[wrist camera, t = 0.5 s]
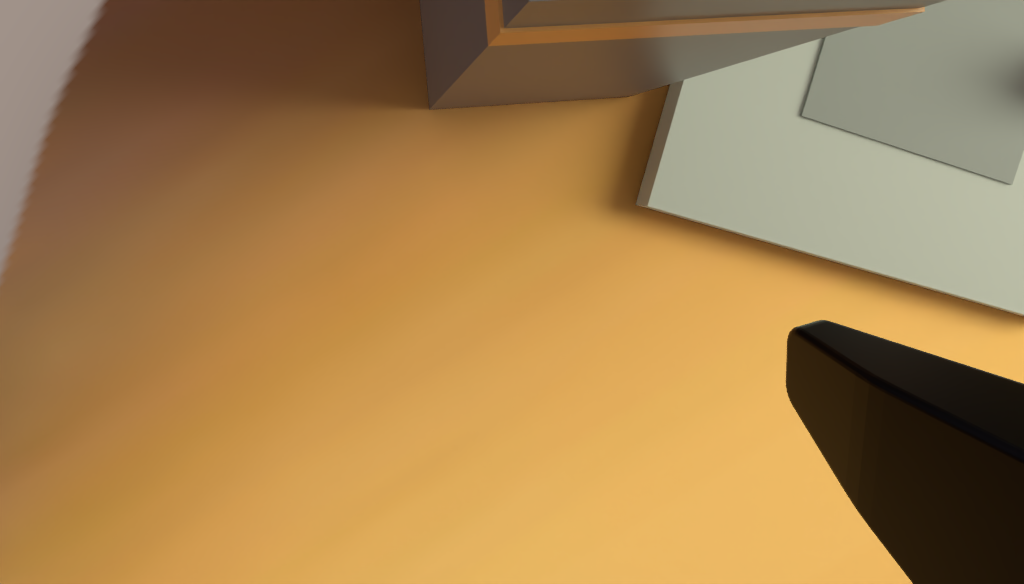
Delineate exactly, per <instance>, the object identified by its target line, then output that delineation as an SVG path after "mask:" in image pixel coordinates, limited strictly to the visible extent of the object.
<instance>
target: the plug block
mask: <svg viewBox="0 0 1024 584" xmlns="http://www.w3.org/2000/svg"><path fill="white" fill-rule="evenodd" d="M942 1H945V0H420V10H421V21H422V32H423V43H424V55H425V66H426V77H427V88H428V99H429V110H431V109H447V108H462V107H478V106H493V105H508V104H524V103H539V102H555V101H570V100H586V99H601V98H616V97H629V96H633V95H636V94H639V93H642V92H646V91H649V90H652V89H656V88H659V87H662V86H665V85H669V84H672V83H675V82H679V81H682V80H685V79H689V78H692V77H695V76H698V75H702V74H705V73H708V72H712V71H715V70H718V69H721V68H725V67H728V66H731V65H735V64H738V63H741V62H745V61H748V60H751V59H754V58H758V57H761V56H764V55H768V54H771V53H774V52H777V51H781V50H784V49H787V48H791V47H794V46H797V45H801V44H804V43H807V42H810V41H814V40H817V39H820V38H824V37H827V36H830V35H833V34H837V33H840V32H843V31H847V30H850V29H853V28H857V27H863V26H878V25H881V24H885V23H888V22H891V21H895V20H898V19H902V18H905V17H908V16H912V15H915V14H919V13H922V12H925V7H926V6H929V5H932V4H936V3H939V2H942Z"/></svg>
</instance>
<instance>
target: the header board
mask: <svg viewBox="0 0 1024 584" xmlns="http://www.w3.org/2000/svg"><path fill="white" fill-rule="evenodd" d="M636 205H638V206H641V207H645V208H648V209H652V210H655V211H659V212H662V213H666V214H669V215H673V216H676V217H680V218H683V219H687V220H690V221H694V222H697V223H701V224H704V225H708V226H711V227H714V228H718V229H721V230H725V231H728V232H732V233H735V234H739V235H742V236H746V237H749V238H753V239H756V240H760V241H763V242H767V243H770V244H774V245H777V246H781V247H784V248H787V249H791V250H794V251H798V252H801V253H805V254H808V255H812V256H815V257H819V258H822V259H826V260H829V261H833V262H836V263H840V264H843V265H847V266H850V267H854V268H857V269H860V270H864V271H867V272H871V273H874V274H878V275H881V276H885V277H888V278H892V279H895V280H899V281H902V282H906V283H909V284H913V285H916V286H920V287H923V288H926V289H930V290H933V291H937V292H940V293H944V294H947V295H951V296H954V297H958V298H961V299H965V300H968V301H972V302H975V303H979V304H982V305H986V306H989V307H993V308H996V309H999V310H1003V311H1006V312H1010V313H1013V314H1017V315H1020V316H1024V0H945V1H942V2H939V3H936V4H932V5H929V6H926V7H925V12H922V13H919V14H915V15H912V16H908V17H905V18H902V19H898V20H895V21H891V22H888V23H885V24H881V25H878V26H863V27H857V28H853V29H850V30H847V31H843V32H840V33H837V34H833V35H830V36H827V37H824V38H820V39H817V40H814V41H810V42H807V43H804V44H801V45H797V46H794V47H791V48H787V49H784V50H781V51H777V52H774V53H771V54H768V55H764V56H761V57H758V58H754V59H751V60H748V61H745V62H741V63H738V64H735V65H731V66H728V67H725V68H721V69H718V70H715V71H712V72H708V73H705V74H702V75H698V76H695V77H692V78H689V79H685V80H682V81H679V82H675V83H672V84H670V86H669V90H668V93H667V97H666V100H665V104H664V107H663V111H662V114H661V118H660V121H659V125H658V128H657V132H656V135H655V139H654V142H653V146H652V149H651V153H650V156H649V160H648V163H647V167H646V170H645V174H644V177H643V180H642V184H641V187H640V191H639V194H638V198H637V201H636Z"/></svg>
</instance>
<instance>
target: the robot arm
mask: <svg viewBox="0 0 1024 584" xmlns="http://www.w3.org/2000/svg"><path fill="white" fill-rule="evenodd" d="M786 388H787V393H788V396H789V399H790V401H791V403H792V405H793V407H794V409H795V410H796V412H797V414H798V415H799V417H800V418H801V420H802V422H803V423H804V425H805V427H806V428H807V430H808V432H809V433H810V435H811V437H812V438H813V440H814V441H815V443H816V445H817V446H818V448H819V450H820V451H821V453H822V455H823V456H824V458H825V460H826V461H827V463H828V464H829V466H830V468H831V469H832V471H833V473H834V474H835V476H836V478H837V479H838V481H839V483H840V484H841V486H842V487H843V489H844V491H845V492H846V494H847V495H848V497H849V498H850V500H851V502H852V503H853V505H854V506H855V508H856V509H857V511H858V512H859V513H860V515H861V516H862V517H863V519H864V520H865V522H866V523H867V524H868V526H869V527H870V528H871V530H872V531H873V532H874V533H875V535H876V536H877V537H878V539H879V540H880V541H881V543H882V544H883V545H884V546H885V548H886V549H887V550H888V552H889V553H890V554H891V556H892V557H893V558H894V559H895V561H896V562H897V563H898V565H899V566H900V567H901V569H902V570H903V571H904V572H905V574H906V575H907V576H908V578H909V579H910V580H911V582H912V583H913V584H1024V384H1023V383H1020V382H1016V381H1013V380H1010V379H1007V378H1004V377H1001V376H998V375H995V374H992V373H989V372H985V371H982V370H979V369H976V368H973V367H970V366H967V365H964V364H961V363H957V362H954V361H951V360H948V359H945V358H942V357H939V356H936V355H933V354H930V353H926V352H923V351H920V350H917V349H914V348H911V347H908V346H905V345H902V344H899V343H895V342H892V341H889V340H886V339H883V338H880V337H877V336H874V335H871V334H867V333H864V332H861V331H858V330H855V329H852V328H849V327H846V326H843V325H840V324H836V323H833V322H830V321H826V320H820V321H816V322H812V323H809V324H805V325H802V326H798V327H795V328H794V329H792V330H791V331H790V333H789V335H788V339H787V363H786Z"/></svg>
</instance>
